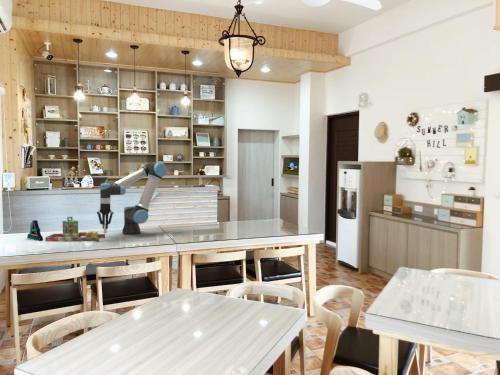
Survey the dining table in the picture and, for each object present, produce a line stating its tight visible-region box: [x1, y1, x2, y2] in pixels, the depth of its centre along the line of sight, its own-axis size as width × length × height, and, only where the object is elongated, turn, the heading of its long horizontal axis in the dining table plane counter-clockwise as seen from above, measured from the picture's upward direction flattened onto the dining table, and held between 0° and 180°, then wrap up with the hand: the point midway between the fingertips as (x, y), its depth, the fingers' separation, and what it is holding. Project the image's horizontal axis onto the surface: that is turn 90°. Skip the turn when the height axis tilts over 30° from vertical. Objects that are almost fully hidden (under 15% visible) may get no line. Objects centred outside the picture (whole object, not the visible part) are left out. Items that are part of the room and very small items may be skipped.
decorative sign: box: [26, 219, 44, 242], centre depth 327 cm, size 19×2×15 cm, turn 56°
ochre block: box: [85, 230, 99, 237], centre depth 329 cm, size 7×7×6 cm
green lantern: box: [62, 216, 79, 234], centre depth 347 cm, size 9×9×15 cm
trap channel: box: [45, 231, 106, 243], centre depth 332 cm, size 40×22×3 cm, turn 92°
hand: (105, 232), depth 329 cm, fingers closed
